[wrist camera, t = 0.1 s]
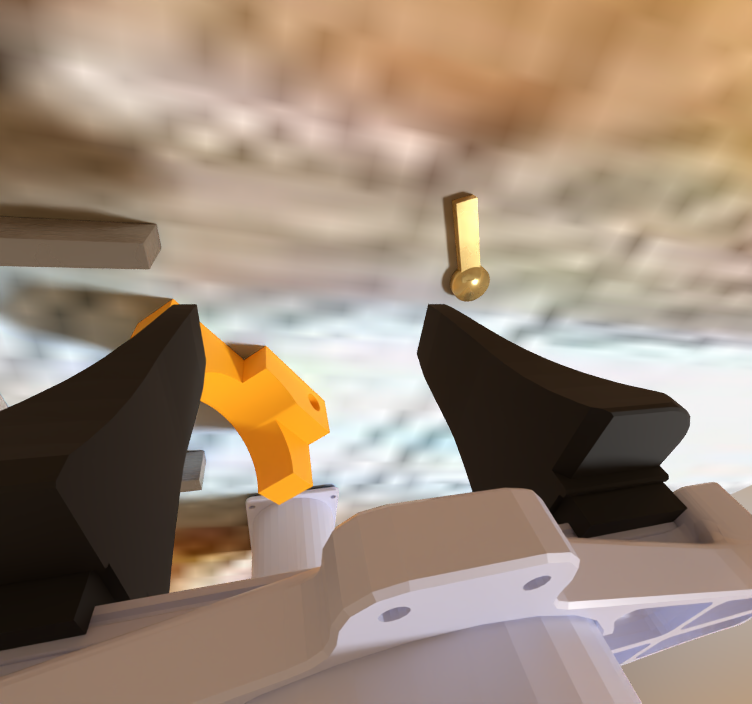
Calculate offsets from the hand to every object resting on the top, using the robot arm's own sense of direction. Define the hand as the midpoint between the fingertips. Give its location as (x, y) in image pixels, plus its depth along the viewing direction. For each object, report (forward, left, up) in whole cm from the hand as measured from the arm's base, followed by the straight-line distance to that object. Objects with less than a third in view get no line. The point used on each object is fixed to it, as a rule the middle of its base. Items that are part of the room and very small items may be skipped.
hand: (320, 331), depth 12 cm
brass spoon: (0, -10, -10) cm, 14 cm away
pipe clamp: (-9, +3, -10) cm, 14 cm away
